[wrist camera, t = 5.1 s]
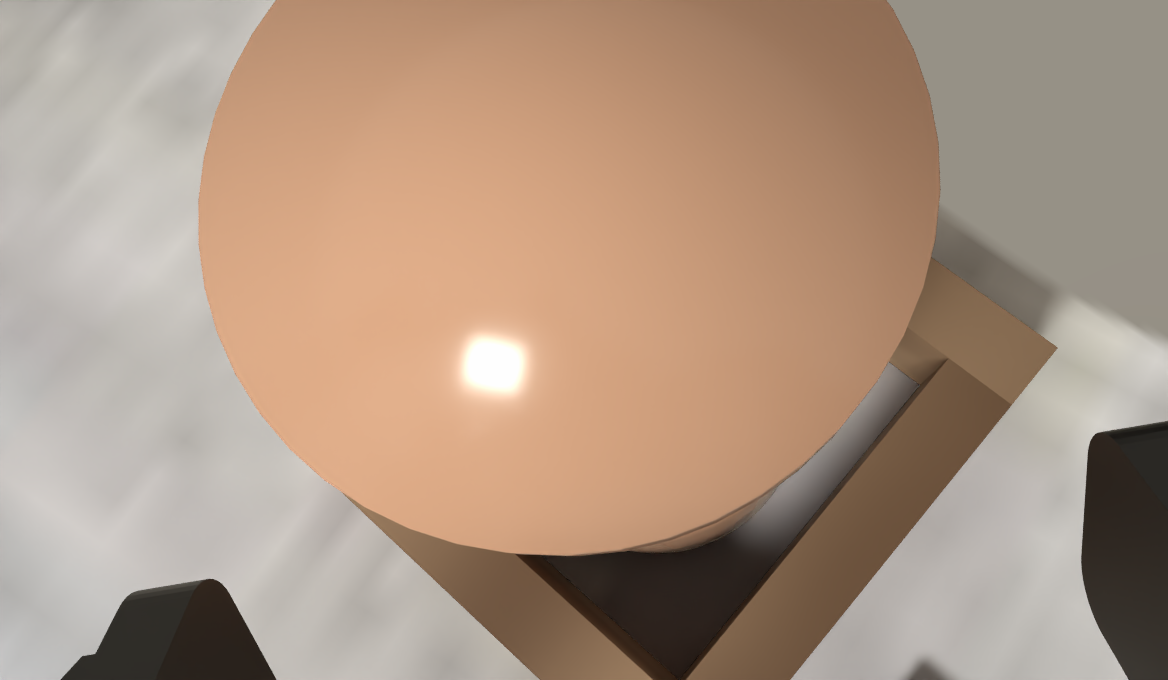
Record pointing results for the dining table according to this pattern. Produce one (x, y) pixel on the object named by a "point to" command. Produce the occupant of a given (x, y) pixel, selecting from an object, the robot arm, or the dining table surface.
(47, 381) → the dining table surface
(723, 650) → the walnut collar
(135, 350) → the dining table surface
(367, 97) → the peach column
